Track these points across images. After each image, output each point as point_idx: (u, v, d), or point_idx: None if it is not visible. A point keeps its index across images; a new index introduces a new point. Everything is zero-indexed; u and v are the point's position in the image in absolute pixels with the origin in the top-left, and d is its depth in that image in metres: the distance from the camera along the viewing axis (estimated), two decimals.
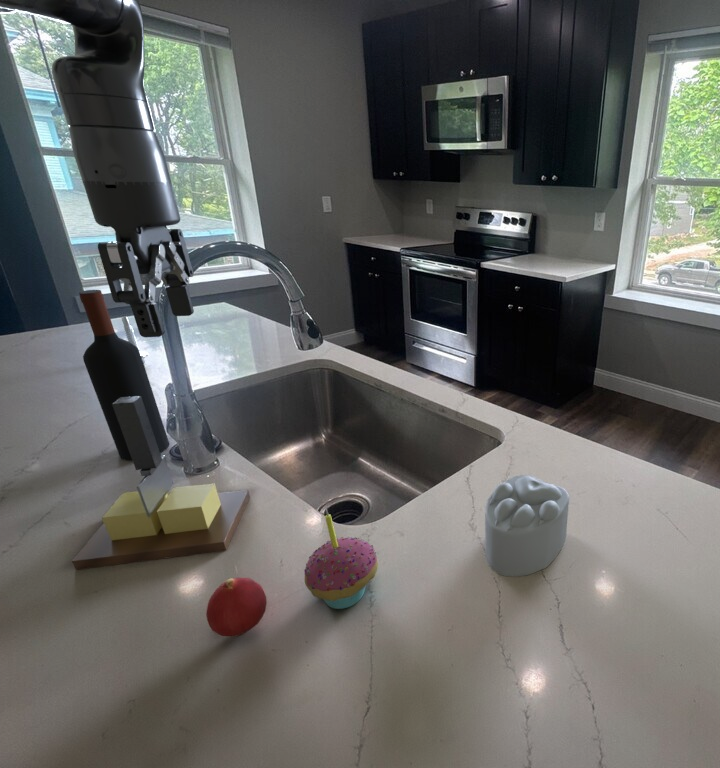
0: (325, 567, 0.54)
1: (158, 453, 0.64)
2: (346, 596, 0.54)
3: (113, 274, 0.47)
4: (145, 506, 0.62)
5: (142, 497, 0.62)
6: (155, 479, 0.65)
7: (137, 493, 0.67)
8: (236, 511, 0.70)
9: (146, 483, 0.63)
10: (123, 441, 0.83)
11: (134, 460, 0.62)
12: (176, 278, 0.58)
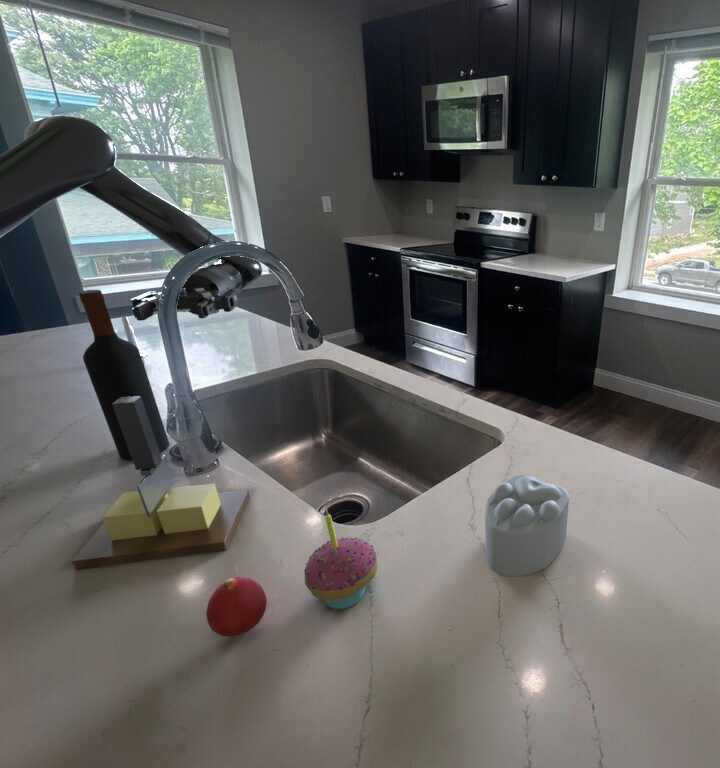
0: (325, 567, 0.54)
1: (158, 453, 0.64)
2: (346, 596, 0.54)
3: (233, 297, 0.80)
4: (145, 506, 0.62)
5: (142, 497, 0.62)
6: (155, 479, 0.65)
7: (137, 493, 0.67)
8: (236, 511, 0.70)
9: (146, 483, 0.63)
10: (123, 441, 0.83)
11: (134, 460, 0.62)
12: (153, 308, 0.76)
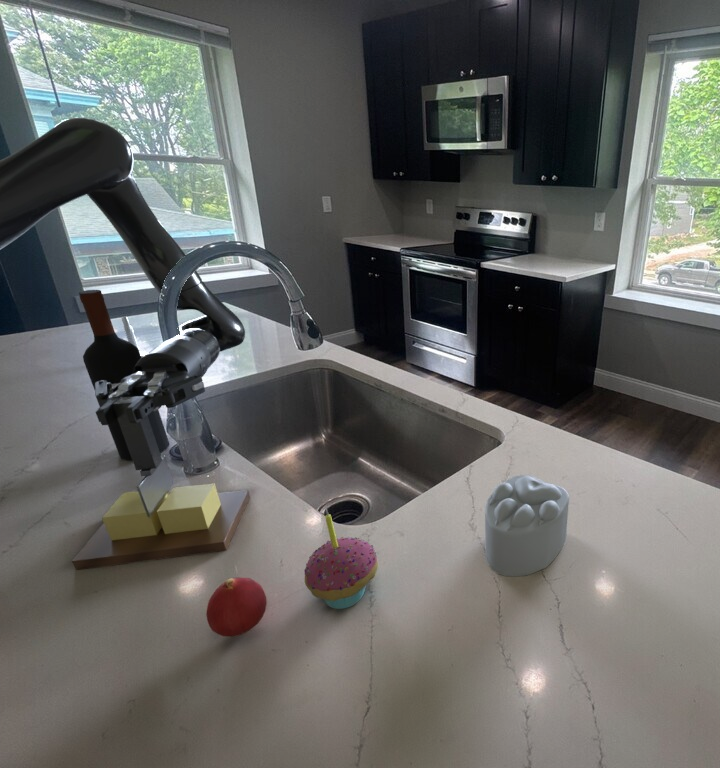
0: (325, 567, 0.54)
1: (158, 453, 0.64)
2: (346, 596, 0.54)
3: (186, 388, 0.65)
4: (145, 506, 0.62)
5: (142, 497, 0.62)
6: (155, 479, 0.65)
7: (137, 493, 0.67)
8: (236, 511, 0.70)
9: (146, 483, 0.63)
10: (123, 441, 0.83)
11: (134, 460, 0.62)
12: None
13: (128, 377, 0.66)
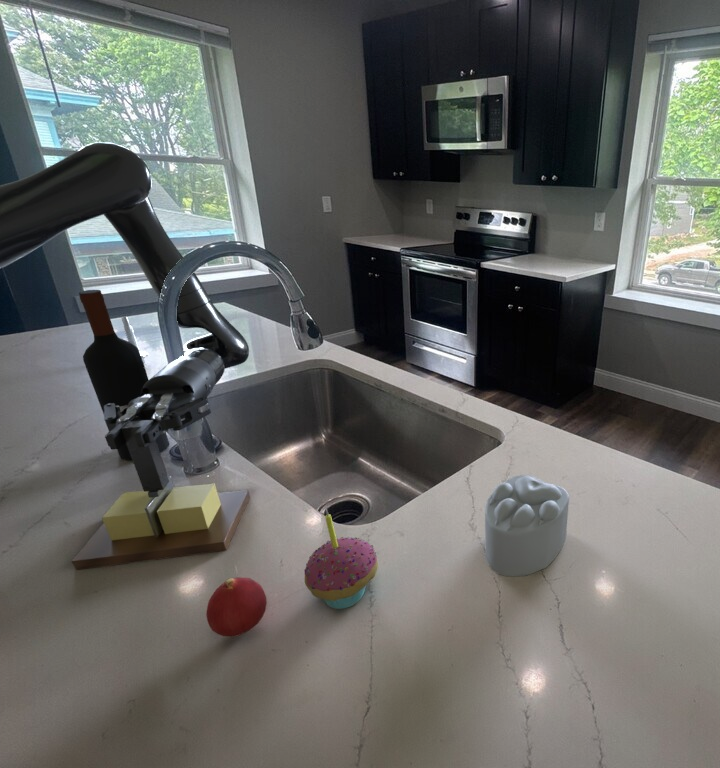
0: (325, 567, 0.54)
1: (166, 474, 0.66)
2: (346, 596, 0.54)
3: (192, 410, 0.66)
4: (153, 527, 0.64)
5: (150, 518, 0.63)
6: (162, 500, 0.66)
7: (137, 493, 0.67)
8: (236, 511, 0.70)
9: (154, 504, 0.64)
10: None
11: (142, 482, 0.64)
12: None
13: (136, 399, 0.67)
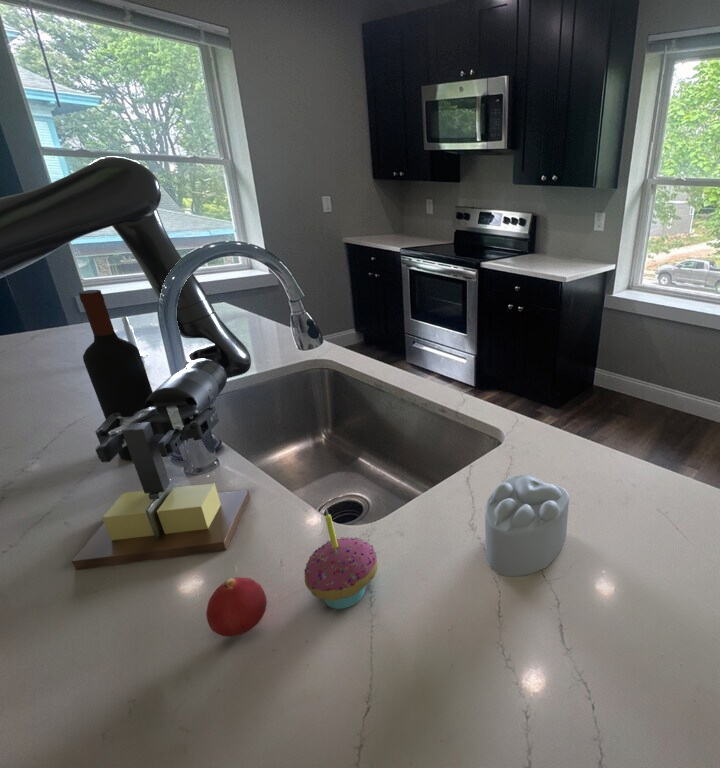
0: (325, 567, 0.54)
1: (166, 476, 0.66)
2: (346, 596, 0.54)
3: (208, 419, 0.68)
4: (153, 529, 0.64)
5: (151, 520, 0.63)
6: None
7: (137, 493, 0.67)
8: (236, 511, 0.70)
9: (154, 506, 0.64)
10: None
11: (143, 484, 0.64)
12: (122, 439, 0.64)
13: (140, 412, 0.68)
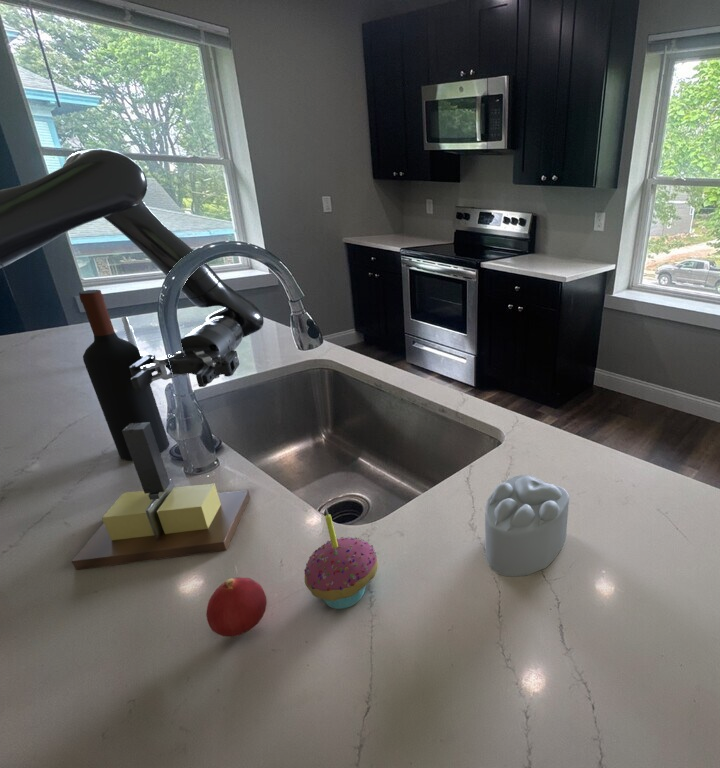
0: (325, 567, 0.54)
1: (166, 476, 0.66)
2: (346, 596, 0.54)
3: (233, 360, 0.78)
4: (153, 529, 0.64)
5: (151, 520, 0.63)
6: None
7: (137, 493, 0.67)
8: (236, 511, 0.70)
9: (154, 506, 0.64)
10: (123, 441, 0.83)
11: (143, 484, 0.64)
12: None
13: None
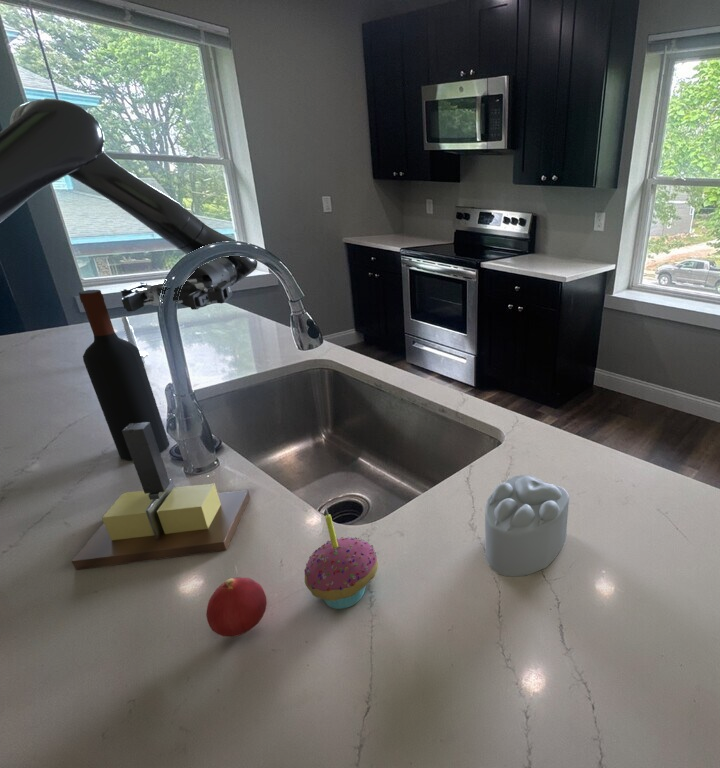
0: (325, 567, 0.54)
1: (166, 476, 0.66)
2: (346, 596, 0.54)
3: (226, 288, 0.78)
4: (153, 529, 0.64)
5: (151, 520, 0.63)
6: None
7: (137, 493, 0.67)
8: (236, 511, 0.70)
9: (154, 506, 0.64)
10: (123, 441, 0.83)
11: (143, 484, 0.64)
12: (143, 299, 0.73)
13: None
